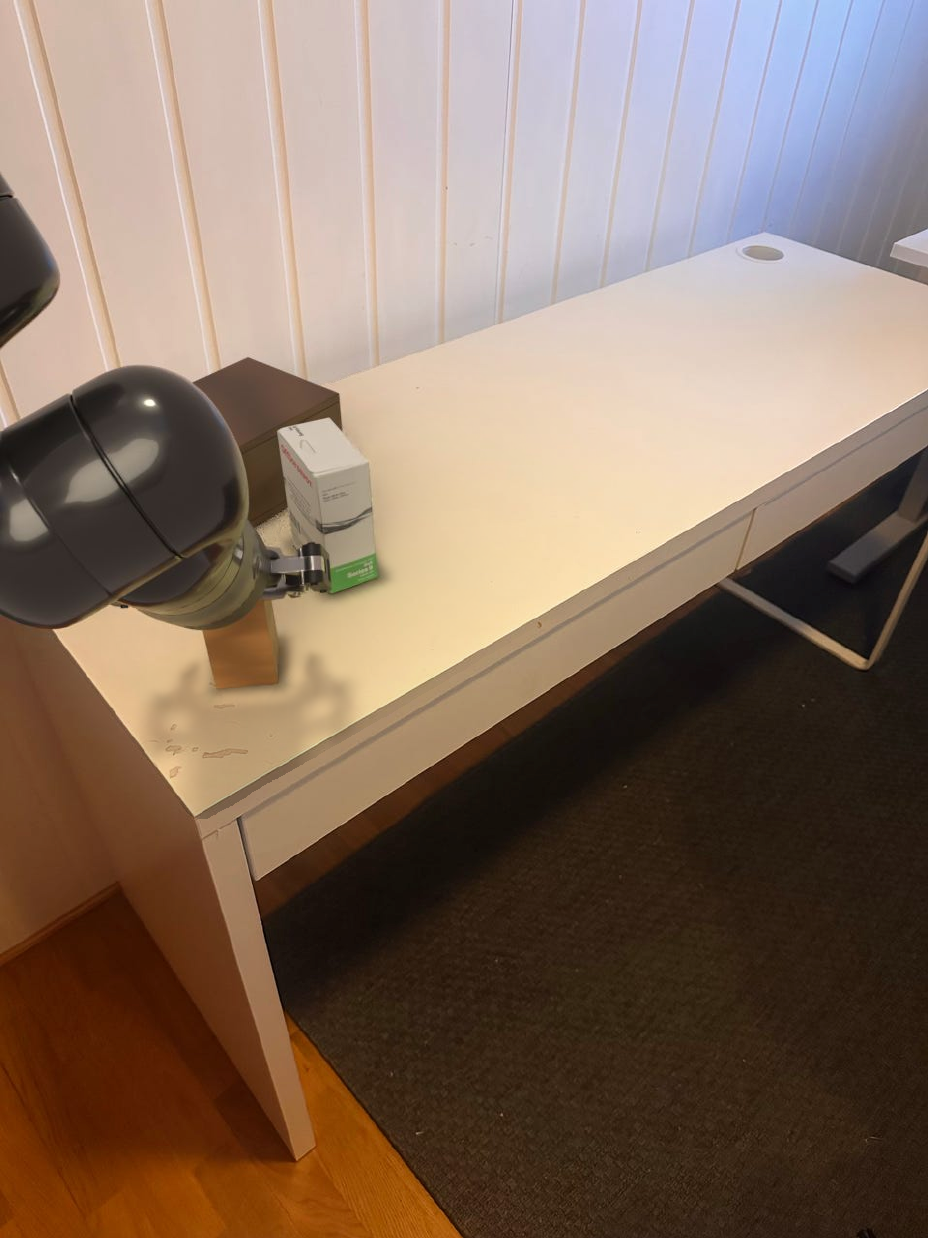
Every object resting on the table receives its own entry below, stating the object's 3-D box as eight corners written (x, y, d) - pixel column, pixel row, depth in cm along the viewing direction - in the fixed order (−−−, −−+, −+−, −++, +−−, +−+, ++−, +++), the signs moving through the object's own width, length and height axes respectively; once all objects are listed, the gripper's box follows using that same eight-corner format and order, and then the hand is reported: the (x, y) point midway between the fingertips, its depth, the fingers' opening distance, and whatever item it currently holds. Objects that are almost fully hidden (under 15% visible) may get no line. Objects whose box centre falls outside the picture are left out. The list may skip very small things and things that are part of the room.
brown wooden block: (216, 689, 67) (190, 586, 61) (220, 647, 71) (196, 545, 64) (278, 683, 68) (259, 580, 61) (278, 642, 71) (261, 541, 64)
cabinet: (237, 538, 81) (221, 456, 76) (148, 491, 87) (127, 411, 81) (346, 471, 90) (339, 392, 85) (259, 432, 96) (247, 356, 90)
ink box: (381, 578, 77) (373, 460, 70) (327, 596, 75) (313, 476, 68) (340, 527, 83) (329, 412, 75) (290, 543, 81) (273, 426, 73)
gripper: (316, 481, 50) (329, 529, 66) (50, 498, 48) (130, 543, 64) (326, 615, 49) (337, 631, 65) (58, 636, 48) (137, 647, 64)
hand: (235, 587), depth 65 cm, fingers open, 8 cm apart
